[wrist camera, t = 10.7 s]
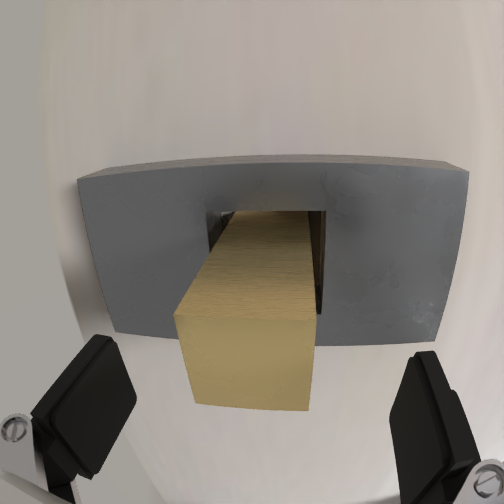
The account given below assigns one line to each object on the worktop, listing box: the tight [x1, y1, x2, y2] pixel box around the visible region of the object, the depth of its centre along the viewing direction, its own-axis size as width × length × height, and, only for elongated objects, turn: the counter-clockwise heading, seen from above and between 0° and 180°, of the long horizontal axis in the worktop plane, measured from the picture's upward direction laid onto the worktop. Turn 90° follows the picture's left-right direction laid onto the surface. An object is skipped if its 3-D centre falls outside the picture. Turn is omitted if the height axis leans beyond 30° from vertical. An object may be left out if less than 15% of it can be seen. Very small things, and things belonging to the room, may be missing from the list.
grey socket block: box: [77, 155, 469, 346], centre depth 17 cm, size 20×10×3 cm, turn 93°
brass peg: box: [173, 211, 317, 411], centre depth 14 cm, size 4×4×10 cm
